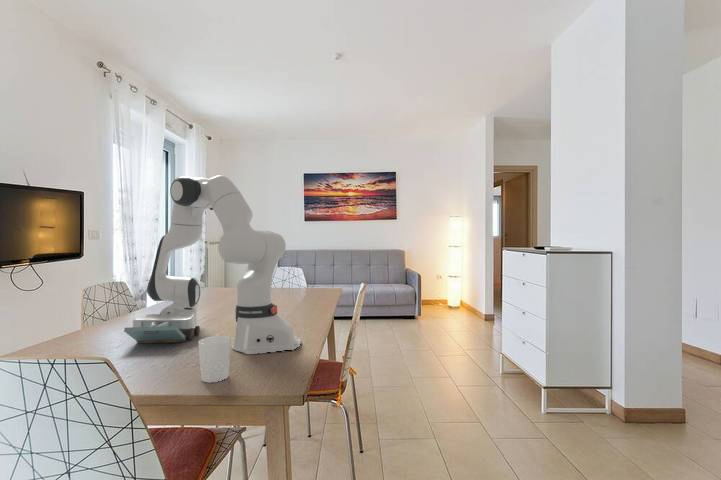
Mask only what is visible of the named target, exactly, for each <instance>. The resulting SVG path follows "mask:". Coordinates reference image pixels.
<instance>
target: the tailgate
mask: <svg viewBox="0 0 721 480" xmlns="http://www.w3.org/2000/svg"><path fill="white" fill-rule="evenodd" d="M123 332H124V333H126V335H128V336H129V337H131V338H132V339H133V340H135V342H137V341H164V340H185V338H186V336H185V335H184V334H183V333H182V332H181V331H180V330H179V329H178V328H177V326H170V327H133V326H132V327H124V330H123Z"/></svg>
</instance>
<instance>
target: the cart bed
mask: <svg viewBox="0 0 721 480" xmlns="http://www.w3.org/2000/svg"><path fill="white" fill-rule="evenodd" d="M179 330H180V331H181V332H182V333H183V334H184V335H185V336H186V338H185V340H164V341H136V343H137V344H154V343H155V344H156V343H159V344H160V343H186V342H188V341H192V340H193V337H195V336H196V335H200V333H201V326H200V325H196V326H194V327H193V328H191V329H179Z"/></svg>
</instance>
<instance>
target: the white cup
mask: <svg viewBox="0 0 721 480" xmlns="http://www.w3.org/2000/svg"><path fill="white" fill-rule="evenodd" d="M231 341H232V338H231V336H227V335H213V336H209V337H208V336H206V337H204V338H201V339H199V340H198V341H197V342H198V359H199V369H200V378H201V379H200V380H201V382H203V383H209V384H210V383H211V384H212V382H213V383H219V382H223V381H225V380H227V379H228V377H230V365H231V364H230V363H231V348H232V346H231V345H232V344H231V343H232V342H231ZM224 379H225V380H224ZM222 380H223V381H222ZM218 381H219V382H218Z"/></svg>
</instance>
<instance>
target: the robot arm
mask: <svg viewBox="0 0 721 480" xmlns="http://www.w3.org/2000/svg"><path fill="white" fill-rule="evenodd" d="M170 197H171V199H172V201H173V205H172V212H171V215H170V217H171V218H170V227H169V230H168V232H167V233H166V234H164V235H162V237H161V238H160V241H159V244H158V246H157V250H156V255H155V258H154V262H153V266H152V270H151V271H152V272H151V275H150V277H149V279H148V283H147V286H146V294H147V295H148V296H149V297H150V299H151V300H153V302H173V303H171V304H170V305H168V306H166V307H165V308H163V309H162V310H161V311H160V312H159V313H152V314H151V313H148V314H146V313H145V314H142V315H140V316H136V317H135V318H133V319H132V327H170V326H177V328H178V329H191V328H195V326H197V321H198V320H197V319H198V317H197V312H198V309H199V300H200V297H201V286H200V284H199V283H198V280H197V279H196V278H194V277H186V276H175V275H173V276H172V275H171V276H170V275H168V274H167V270H168V266H169V262H170V259H171V258H170V257H171V255H172V253H174V252H175V251H177V250H181V249H184V248H186V247H190V246H193V245H194V244H196V243H197V242H199V240H200V239H201V237H202V232H203V222H204V221H203V218H204V217H203V215H204V212H205V211H206V210H207V209H209V210H210V211H213V212H214V213H215V216H216V217H217V219H218V221H219V223H220V225H221V227H222V232H223V233H222V235H221V236H220V239H219V241H218V247H217V249H218V253H219V255H220V258H221V259H222V260H223V261H224V262H226V263H230V264H235V265H236V264H237V265H247V268H246V270H245V272H244V274H243V275H242V276H241V277H240V278H239V279H238V281H237V282H236V302H237V303H236V305H235V309H234V310H235V311H234V312H235V313H234V314H235V315H234V316H235V322H236V324H235V325H236V327H235V334H234V339H233V342H232V346H231V348H232V350H233V351H236V352H240V353H243V354H245V355H257V354H258V353H259V354H267V352H271V353H277V352H276V351H282V352H284V351H283V350H292V351H294V350H293V349H295V348H297V347H299V346H300V347H301V345H300V344H302V342H301V341H302V340H301V338H299V337H298V336H295V332H294V331H295V330H294V328H293V326H292V324H291V323H290V322H288V321H287V320H286V319H284V318H283V317H281V316H280V315H279V314H278V305H277V304H275V303H272V282H273V276H274V273H275V269H276V266H277V264H278V262H279V261H280V259H281V258H282V257H283V256H284V254H285V252H286V247H287V246H286V240H285V239H284V236H282V235H281V234H280V233H277V232H274V231H272V230H271V231H270V230H255V229H253V228H252V227H251V224H250V223H251V221H252V218H253V210H252V209H251V207H250V205H249V204H248V202H247V201H246V199H245V198H244V196H243V194H242V193H241V191H240V190H239V189H238V187H237V186H236V184H234V182H233V181H232V180H231V179H229V177H227V176H225V175H215V176H213V177H211V178H205V177H200V176H199V177H196V176H193V177H192V176H191V177H190V176H180V177H179V176H178V177H176V178H175V179H174V180H173V181H172V183H171V185H170ZM300 347H299V348H300ZM297 349H298V348H297ZM259 354H258V355H259Z"/></svg>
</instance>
